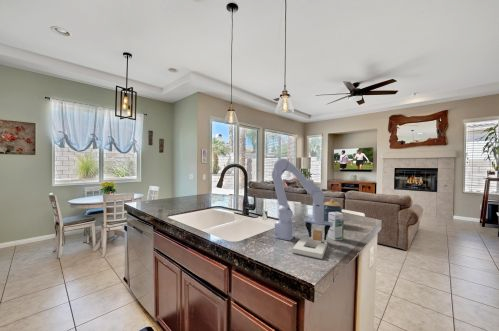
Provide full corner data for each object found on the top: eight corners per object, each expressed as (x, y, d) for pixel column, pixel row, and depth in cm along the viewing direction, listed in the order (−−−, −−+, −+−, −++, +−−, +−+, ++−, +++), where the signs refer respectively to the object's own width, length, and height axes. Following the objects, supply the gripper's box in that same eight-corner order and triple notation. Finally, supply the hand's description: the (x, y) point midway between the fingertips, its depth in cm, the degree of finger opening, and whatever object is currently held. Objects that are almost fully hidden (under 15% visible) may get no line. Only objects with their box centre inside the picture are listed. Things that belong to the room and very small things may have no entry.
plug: (312, 242, 112) (312, 231, 112) (314, 239, 117) (314, 228, 117) (320, 244, 110) (320, 233, 110) (322, 240, 115) (322, 230, 115)
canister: (328, 221, 155) (328, 196, 155) (345, 225, 145) (346, 199, 145) (318, 224, 146) (318, 198, 146) (336, 228, 136) (336, 201, 136)
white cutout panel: (292, 253, 98) (292, 247, 98) (301, 242, 112) (301, 236, 112) (322, 259, 92) (322, 252, 92) (327, 247, 106) (327, 241, 106)
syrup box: (334, 241, 115) (335, 214, 115) (327, 237, 120) (328, 211, 120) (343, 240, 116) (344, 213, 116) (336, 236, 122) (336, 211, 122)
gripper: (333, 212, 113) (333, 238, 113) (305, 209, 120) (305, 233, 120) (331, 215, 107) (331, 242, 107) (302, 212, 114) (302, 237, 114)
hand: (317, 238), depth 113 cm, fingers open, 7 cm apart
